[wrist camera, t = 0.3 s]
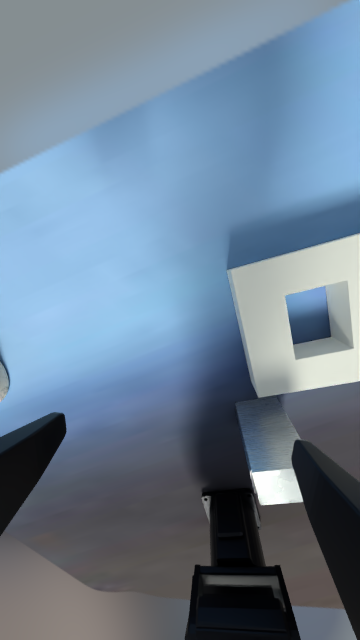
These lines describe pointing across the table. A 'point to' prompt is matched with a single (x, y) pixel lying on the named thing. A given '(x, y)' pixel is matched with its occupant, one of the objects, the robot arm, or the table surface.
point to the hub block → (273, 323)
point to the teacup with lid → (3, 382)
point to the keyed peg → (269, 449)
